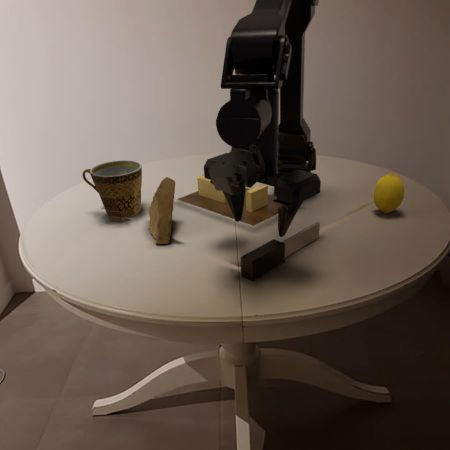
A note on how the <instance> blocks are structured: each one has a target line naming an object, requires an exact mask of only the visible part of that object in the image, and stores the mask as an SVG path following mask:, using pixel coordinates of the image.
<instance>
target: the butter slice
mask: <svg viewBox="0 0 450 450" xmlns="http://www.w3.org/2000/svg"><path fill="white" fill-rule="evenodd" d="M249 189H250V190H248V191H246V210H247V211H250V212H253V211H255V210H257V209H260V208H262V207H264V206H266V205H268V195H269V185H266V184H262V183H261V184H260V185H257V186H255V187H251V188H249Z"/></svg>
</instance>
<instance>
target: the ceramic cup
mask: <svg viewBox="0 0 450 450" xmlns="http://www.w3.org/2000/svg"><path fill="white" fill-rule="evenodd" d="M142 168H143V167H142V164H141V163H140V162H138V161H134V160H113V161H107V162H102V163H100V164H97V165H95V166H93V167H92V168H86V169H84V170H83V171H82V178H83V181H85V183H86V184H87V185H89V186H90V187H92V188H93V190H95V191H96V192H97V193H98V195H99V198H100V200H101V203H102V205H103V207H104V210H105V213H106V216H107V218H108V220H110V222H114V223H115V222H117V223H126V222H129V221H131V219H129V218H131V217H134V216H136V215H138V214H139V212H141V211H142V184H143V170H142ZM86 173H88V174H89V175H90V177H91V180H92V182H90V181H89V180H88V179H87V177H86Z"/></svg>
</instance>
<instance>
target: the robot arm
mask: <svg viewBox="0 0 450 450" xmlns="http://www.w3.org/2000/svg"><path fill="white" fill-rule="evenodd" d="M319 2H320V0H255V3H254V6H253V8H252V11H251V12H250V13H248V14H246V15H244V16H243V17H241V18H240V19H239V20H238V21H237V22H236V24H235V26H233V29H232V30H231V33H230V36H228V37H227V39H226V44H225V52H224V59H223V66H222V73H221V81H220V89H221V90H229V100H228V101H226V102H225V103H224V104H222V106H221V107H220V108H219V110H218V112H217V115H216V119H215V127H216V131H217V134H218V136H219V137H220V139H221V140H222V142H224V143H225V144H226V145H228V146H229V147H231V148H230V151H229V152H224V153H222V154H219V155H216V156H213V157H210V158H208V159H206V161H205V162H204V165H203V175H204V178H206V179H209V180H211V181H210V183H211V184H213V185H214V187H215V189H216V190H217V191H220V190H221V191H223V193H224V195H225V197H226V199H227V202H228V204H229V207H230V209H231V212H232V214H233V216H234V219H233V220H234V221H235V222H236V223H238V222H241V219H242V214H243V208H244V198H245V189H246V188H247V189H252V188H253V186H254V185H255V184H256V183H259V184H261V185H262V184H263V185H267V186H271V187H273V194H274V195H275V197H277V199H275V200H273V202H274V203H275V204H276V206H277V207H278V214H277V232H278V237H280V238H283V237H285V236H286V235H287V233H288V230H289V229H290V226H291V225H292V222H293V220H294V218H295V216H296V214H297V212H298V211H299V209H300V208H301V206H302V205H303V203H304V202H305V201H307V200H308V199H310V198H313V197H314V196H317V195H319V194H320V193H321V187H322V182H321V178H320V176H319V175H318V174H317V173H315V172H313V171H316V170H317V149H316V148H315V144H314V141H311V140H312V138H311V137H312V135H311V134H312V131H311V128H310V126H309V125H308V123H307V122H306V120H305V118H304V92H305V91H304V90H305V89H304V88H305V52H306V51H305V48H306V32H307V30H308V28H309V26H310V24H311V22H312V21H313V18H314V17H315V14H316V7H318V5H319Z"/></svg>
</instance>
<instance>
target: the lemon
mask: <svg viewBox="0 0 450 450" xmlns="http://www.w3.org/2000/svg"><path fill="white" fill-rule="evenodd" d="M373 189H374V190H373V195H372V196H373V198H372V199H373V203H374V205H375V207H376V208H377V209H378V210H379V211H382V212H383V213H384V214H385V215H386V214H389V213H390V212H392V211H395V210H396V209H398V208H399V207H400V206H401V204H402V203H403V200H404V197H405V185H404V182H403V180H402V178H401V177H399V176H398V175H396V174H394V172H390V173H389V174H385V175H383V176H382V177H380V178H379V179H378V181H377V182H376V184H375V186H374V188H373Z"/></svg>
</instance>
